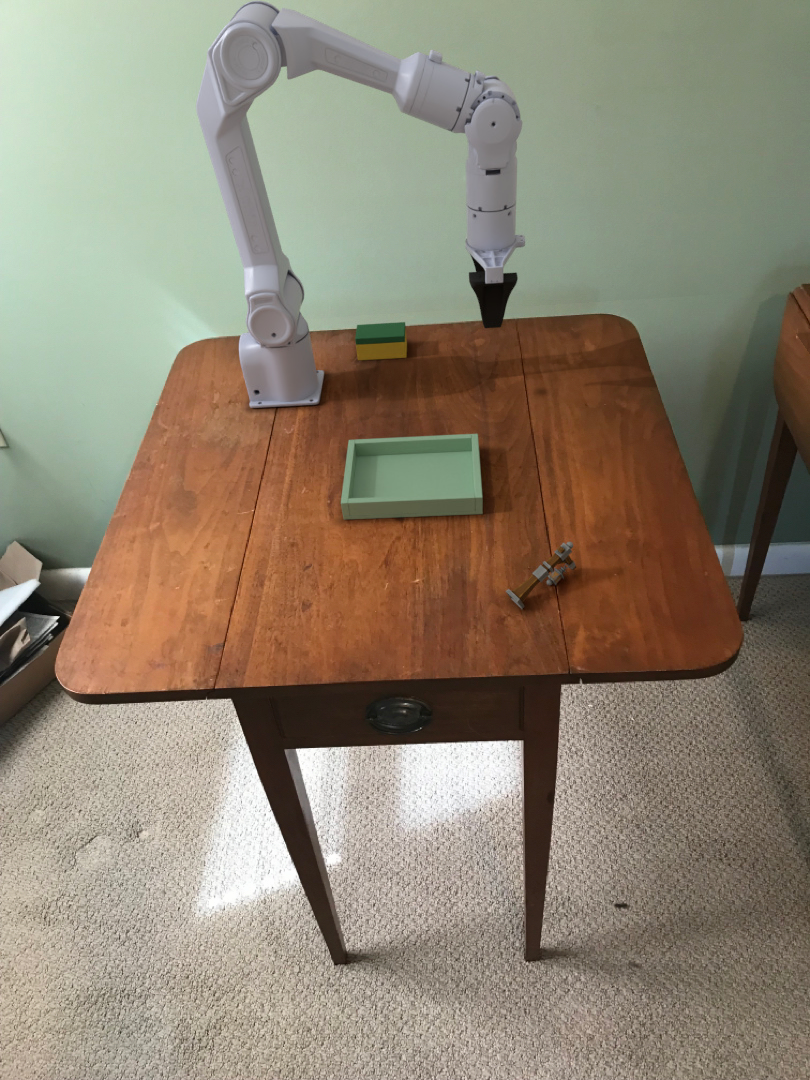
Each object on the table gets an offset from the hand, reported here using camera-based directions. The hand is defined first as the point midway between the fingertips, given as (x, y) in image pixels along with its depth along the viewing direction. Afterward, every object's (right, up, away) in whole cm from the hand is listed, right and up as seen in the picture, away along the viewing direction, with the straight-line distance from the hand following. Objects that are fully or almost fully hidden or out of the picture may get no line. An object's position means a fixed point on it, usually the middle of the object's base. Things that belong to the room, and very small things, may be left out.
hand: (490, 311), depth 98 cm
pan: (-10, -22, -8) cm, 26 cm away
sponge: (-14, -2, +14) cm, 20 cm away
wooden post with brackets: (+3, -34, -21) cm, 40 cm away
